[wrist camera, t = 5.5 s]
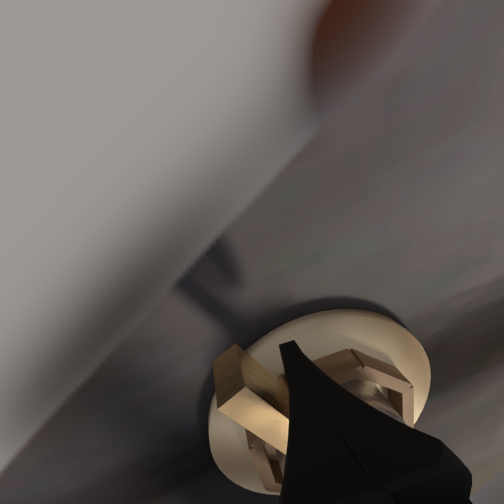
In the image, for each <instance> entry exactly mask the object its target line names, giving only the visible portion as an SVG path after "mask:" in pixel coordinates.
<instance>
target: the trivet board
mask: <svg viewBox="0 0 504 504" xmlns="http://www.w3.org/2000/svg"><path fill="white" fill-rule="evenodd" d="M292 340H295V342H296V343H297V344H298V346H299V347H300V349H301V350H302V352H303V353H304V354H305V355H306V356H307V357H308V358H309V359H310V360H311V361H312V362H313V363H314V364H315V365H316V366H318V367H319V368H320V369H321V370H322V371H323V372H324V373H326V374H327V375H328V376H329V377H330V378H332V379H333V380H334V381H336V382H337V383H338V384H339V385H340V384H343V383H345V382H348V381H351V380H353V379H356V378H359V377H360V378H363V379H366V380H368V381H371V382H373V383H374V384H375V385H376V386H377V387H378V388H379V390H380V391H381V392H382V393H383V395H384V396H385V397H386V399H387V400H388V401H389V402H390V404H391V405H392V406H393V408H394V409H395V410H396V411H397V413H398V414H399V415H400V417H401V418H402V419H403V420H404V422H405V423H406V424H407V425H408V426H410V427H412V428H414V424H415V422H416V421H417V419H418V417H419V415H420V413H421V411H422V410H423V407H424V405H425V402H426V400H427V396H428V392H429V388H430V379H431V376H430V365H429V361H428V357H427V355H426V353H425V351H424V348H423V347H422V346H421V344H420V343H419V341H418V340H417V339H416V338H415V337H414V336H413V335H412V334H410V333H409V332H408V331H407V330H406V329H405V328H403V327H402V326H401V325H400V324H399V323H397V322H396V321H394V320H392V319H391V318H389V317H387V316H384V315H382V314H380V313H377V312H373V311H368V310H364V309H352V308H346V309H332V310H325V311H319V312H316V313H312V314H309V315H305V316H302V317H299V318H297V319H294V320H292V321H289V322H287V323H285V324H283V325H281V326H279V327H277V328H276V329H274V330H272V331H270V332H269V333H267V334H266V335H264V336H263V337H261V338H260V339H258V340H257V341H256V342H255V343H253V344H252V345H251V346H250V347H249V348H247V349H246V350H245V351H246V352H247V353H248V354H249V355H250V356H252V357H253V358H254V359H255V360H256V361H258V362H259V363H260V364H261V365H262V366H263V367H265V368H266V369H267V370H268V371H269V372H271V373H272V374H273V375H274V376H275V377H277V378H278V379H279V380H280V381H281V382H282V383H284V384H285V385H286V386H287V387H288V382H287V379H286V376H285V371H284V367H283V362H282V358H281V353H280V349H279V344H282V343H285V342H289V341H292ZM208 429H209V442H210V449H211V453H212V455H213V458H214V461H215V463H216V464H217V466H218V467H219V469H220V470H221V471H222V472H223V474H224V475H225V476H226V477H227V478H229V479H230V480H231V481H233V482H234V483H235V484H237V485H239V486H241V487H243V488H245V489H248V490H251V491H254V492H258V493H263V494H271V495H280V492H281V487H282V481H283V476H282V472H281V469H280V465H279V462H278V458H277V455H276V451H275V447H273V446H272V445H270V444H269V443H267V442H266V441H264V440H263V439H261V438H260V437H258V436H257V435H255V434H254V433H252V432H251V431H249V430H248V429H246V428H245V427H243V426H242V425H240V424H239V423H237V422H236V421H234V420H233V419H231V418H230V417H228V416H227V415H225V414H224V413H222V412H221V411H219V410H218V409H217V400H216V391H215V393H214V396H213V398H212V401H211V405H210V410H209V419H208Z"/></svg>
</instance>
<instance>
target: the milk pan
mask: <svg viewBox="0 0 504 504" xmlns="http://www.w3.org/2000/svg"><path fill="white" fill-rule="evenodd" d="M213 371H214V381H215V391H216V400H217V409H218V410H219V411H221V412H222V413H224V414H225V415H227V416H228V417H230V418H231V419H233V420H234V421H236V422H237V423H239V424H240V425H242V426H243V427H245V428H246V429H248V430H249V431H251V432H252V433H254V434H255V435H257V436H258V437H260V438H261V439H263V440H264V441H266V442H267V443H269V444H270V445H272V446H273V447H275V451H276V455H277V458H278V462H279V465H280V469H281V472H282V476H283V475H284V468H285V460H286V451H287V442H288V427H289V390H288V387H287V386H286V385H285V384H284V383H282V382H281V381H280V380H279V379H278V378H277V377H275V376H274V375H273V374H272V373H271V372H269V371H268V370H267V369H266V368H265V367H263V366H262V365H261V364H260V363H259V362H258V361H256V360H255V359H254V358H253V357H252V356H250V355H249V354H248V353H247V352H246V351H244V350H243V349H242V348H241V347H240V346H239V345H237V344H236V343H235V344H234V345H232V346H231V347H230V348H229V349H227V350H226V351H225V352H224V353H223V354H221V355H220V356H219V357H218V358H217V359H215V360H214V361H213ZM340 385H341V386H342V387H343V388H345V389H346V390H348V391H349V392H351V393H352V394H353V395H355V396H356V397H358V398H359V399H361V400H363V401H364V402H366V403H367V404H369V405H371V406H372V407H374V408H376V409H378V410H379V411H381V412H383V413H385V414H387V415H388V416H390V417H392V418H394V419H396V420H398V421H400V422H402V423H404V424H406V423H405V422H404V420H403V419H402V418H401V417H400V415H399V414H398V413H397V411H396V410H395V409H394V408H393V406H392V405H391V404H390V402H389V401H388V400H387V399H386V397H385V396H384V395H383V393H382V392H381V391H380V390H379V388H378V387H377V386H376V385H375V384H374V383H373V382H371V381H368V380H366V379H363V378H360V377H359V378H356V379H353V380H351V381H348V382H345V383H343V384H340ZM406 425H407V424H406Z"/></svg>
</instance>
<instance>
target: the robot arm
mask: <svg viewBox="0 0 504 504" xmlns="http://www.w3.org/2000/svg"><path fill="white" fill-rule="evenodd" d="M279 349H280V353H281V358H282V362H283V367H284V371H285V376H286V379H287V382H288V390H289V427H288V442H287V451H286V460H285V468H284V475H283V481H282V487H281V492H280V498H279V504H472V502H471V501H470V500H469V497H470V492H471V487H472V474H471V473H470V471H469V469H468V468H467V467H466V466H465V465H464V464H463V462H462V461H461V460H460V459H459V458H458V457H457V456H456V455H455V454H454V453H453V452H452V451H451V450H450V449H449V448H448V447H447V446H446V445H445V444H444V443H443V442H442V441H441V440H439V439H437V438H435V437H432V436H430V435H428V434H425V433H423V432H421V431H418V430H416V429H414V428H412V427H410V426H408V425H406V424H404V423H402V422H400V421H398V420H396V419H394V418H392V417H390V416H388V415H387V414H385V413H383V412H381V411H379V410H378V409H376V408H374V407H372V406H371V405H369V404H367V403H366V402H364V401H363V400H361V399H359V398H358V397H356V396H355V395H353V394H352V393H351V392H349V391H348V390H346V389H345V388H343V387H342V386H341V385H339V384H338V383H337V382H336V381H334V380H333V379H332V378H330V377H329V376H328V375H327V374H326V373H324V372H323V371H322V370H321V369H320V368H319V367H318V366H316V365H315V364H314V363H313V362H312V361H311V360H310V359H309V358H308V357H307V356H306V355H305V354H304V353H303V352H302V350H301V349H300V347H299V346H298V344H297V343H296V342H295V340H292V341H289V342H285V343H282V344H279Z"/></svg>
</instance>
